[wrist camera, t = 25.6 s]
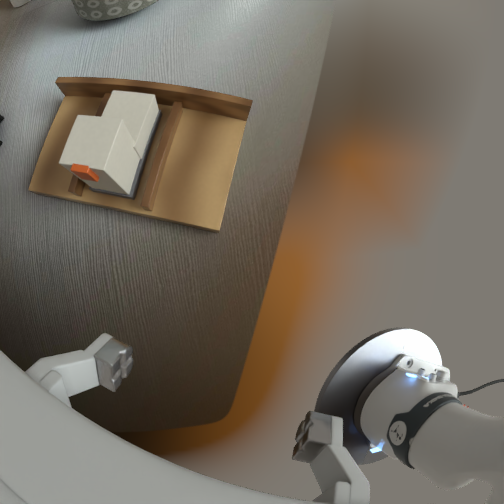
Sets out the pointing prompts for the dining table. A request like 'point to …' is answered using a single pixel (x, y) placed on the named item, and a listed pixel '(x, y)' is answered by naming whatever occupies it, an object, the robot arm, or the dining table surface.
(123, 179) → the block with orange tab
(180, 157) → the divided wooden tray
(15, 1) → the mug
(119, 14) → the planter
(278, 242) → the dining table surface
